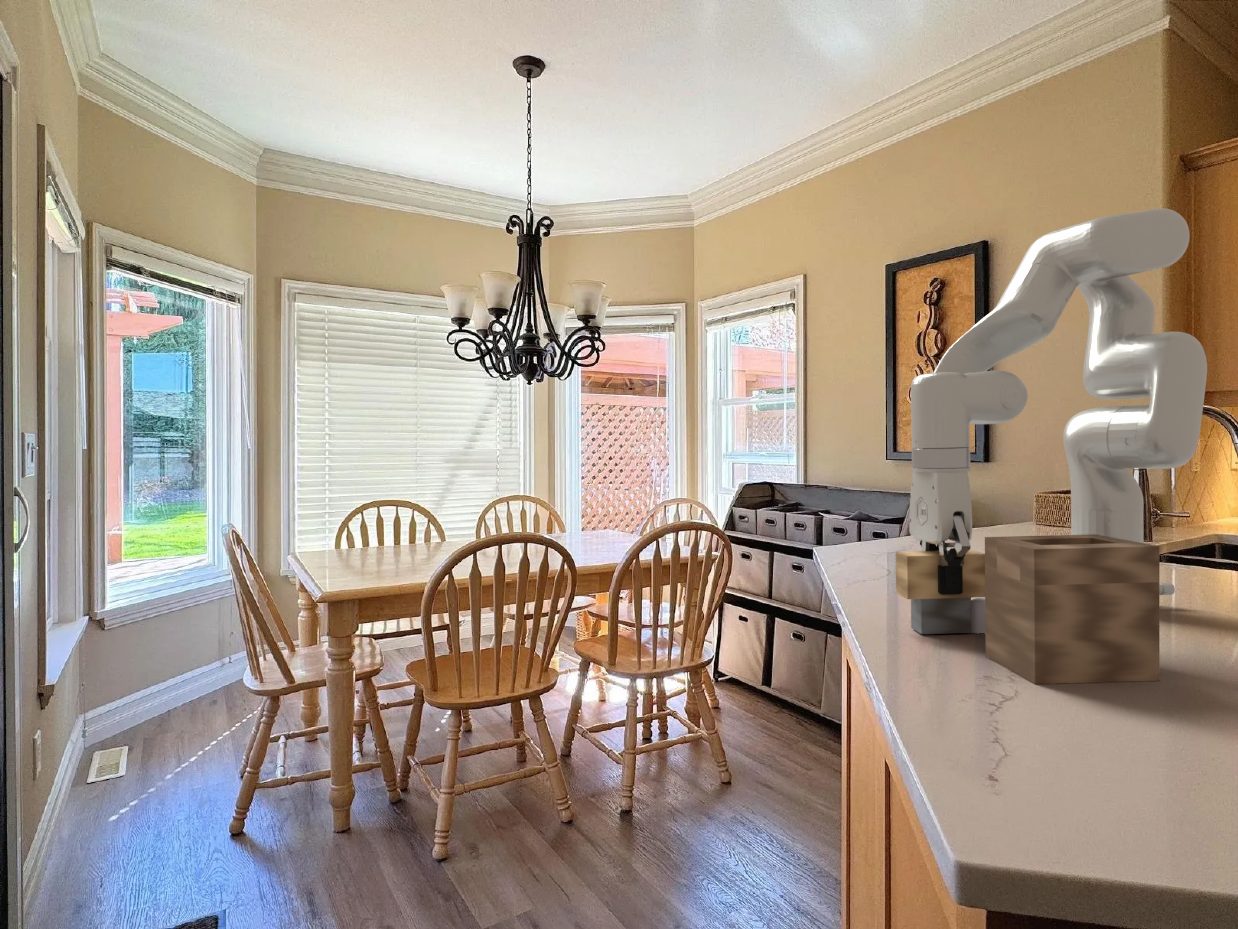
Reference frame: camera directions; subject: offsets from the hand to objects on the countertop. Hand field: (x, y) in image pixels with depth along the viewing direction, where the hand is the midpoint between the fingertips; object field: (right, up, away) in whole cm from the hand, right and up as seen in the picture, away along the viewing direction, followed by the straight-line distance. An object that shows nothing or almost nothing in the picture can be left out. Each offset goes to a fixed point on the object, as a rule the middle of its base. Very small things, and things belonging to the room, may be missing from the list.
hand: (942, 589), depth 102 cm
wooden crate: (+7, -6, -17) cm, 19 cm away
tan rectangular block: (0, -6, 0) cm, 6 cm away
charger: (+12, -6, +3) cm, 14 cm away
